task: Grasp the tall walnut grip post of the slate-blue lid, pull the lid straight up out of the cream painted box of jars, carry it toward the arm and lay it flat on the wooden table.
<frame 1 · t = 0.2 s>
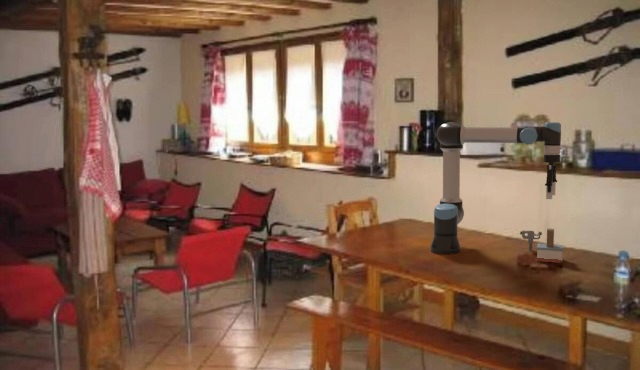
hand: (550, 197, 316), 28 cm above the table, fingers open, 13 cm apart
mechanical component: (530, 251, 323), on the table
lid: (550, 248, 302), point 6 cm above the table, touching box
box: (549, 260, 303), on the table
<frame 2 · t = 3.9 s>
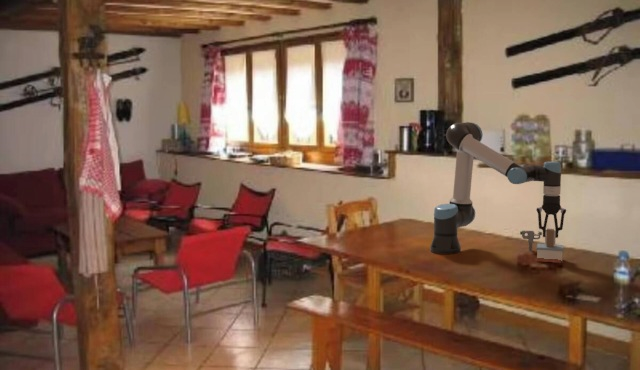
hand: (550, 244, 302), 8 cm above the table, fingers closed on lid, 3 cm apart
lid: (550, 248, 302), point 6 cm above the table, touching box, gripper
everything else where it was.
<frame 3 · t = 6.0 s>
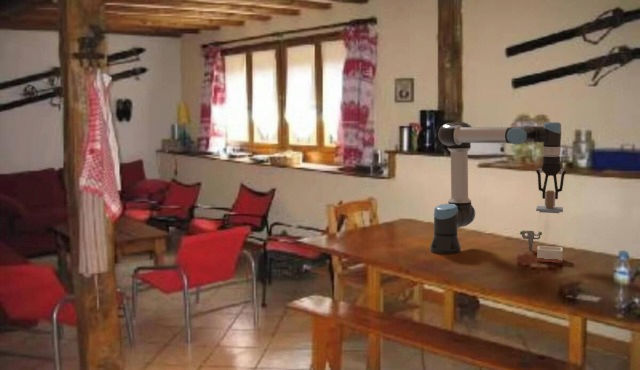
hand: (549, 205, 300), 26 cm above the table, fingers closed on lid, 3 cm apart
lid: (549, 210, 300), point 24 cm above the table, touching gripper
everything else where it was.
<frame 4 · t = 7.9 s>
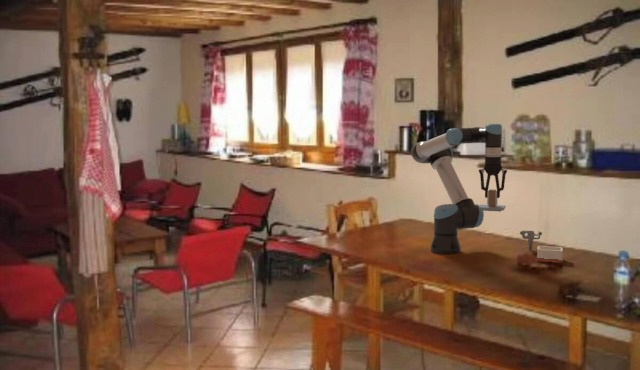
hand: (492, 204, 310), 26 cm above the table, fingers closed on lid, 3 cm apart
lid: (492, 208, 310), point 24 cm above the table, touching gripper
everything else where it was.
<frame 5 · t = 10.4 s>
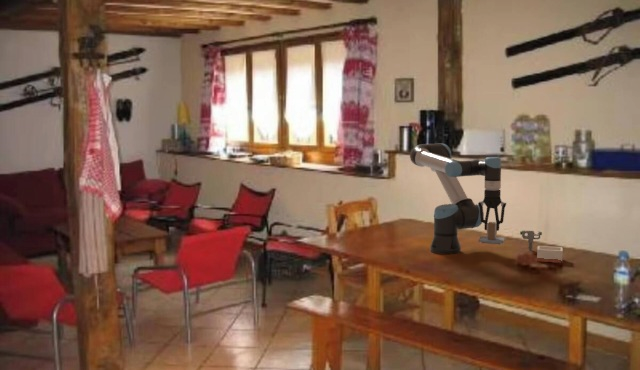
hand: (491, 236, 312), 10 cm above the table, fingers closed on lid, 3 cm apart
lid: (491, 240, 312), point 8 cm above the table, touching gripper
everything else where it was.
when the fingers open (5 cm above the table, at t = 12.2 s): lid drops 2 cm, point 1 cm above the table.
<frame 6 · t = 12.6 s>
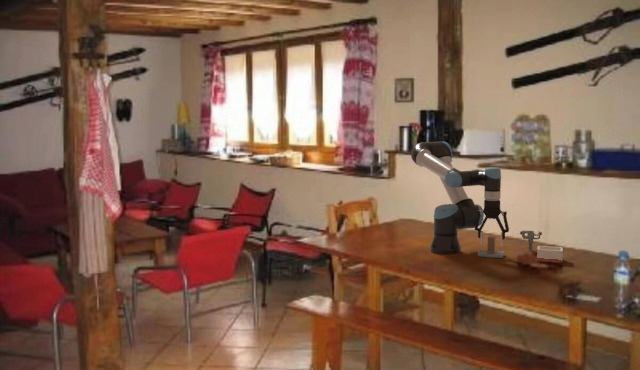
hand: (491, 245, 313), 5 cm above the table, fingers open, 9 cm apart
lid: (491, 254, 313), point 1 cm above the table
everything else where it was.
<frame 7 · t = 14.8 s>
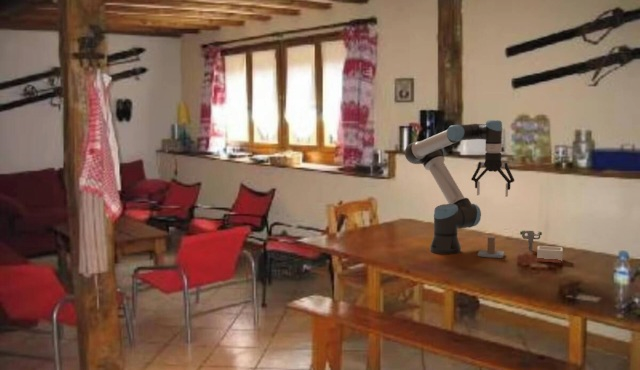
hand: (492, 195, 313), 29 cm above the table, fingers open, 13 cm apart
nothing on the table moved.
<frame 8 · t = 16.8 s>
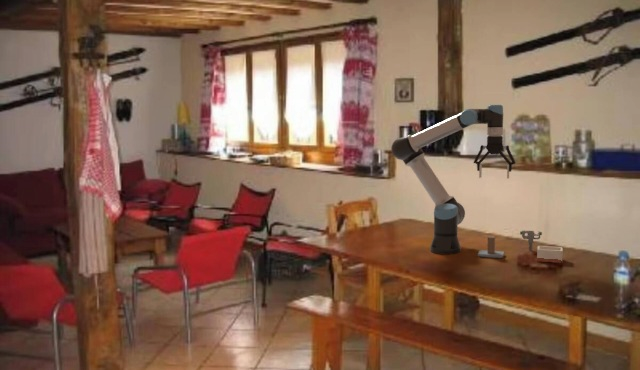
hand: (494, 177, 324), 37 cm above the table, fingers open, 13 cm apart
nothing on the table moved.
at the end: lid inside the target area (0.0 cm from its centre), point 0.7 cm above the table; lid tilted 0°; the gripper is holding nothing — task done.
